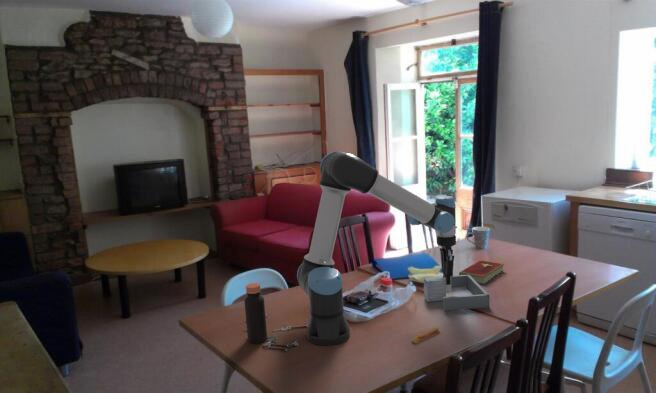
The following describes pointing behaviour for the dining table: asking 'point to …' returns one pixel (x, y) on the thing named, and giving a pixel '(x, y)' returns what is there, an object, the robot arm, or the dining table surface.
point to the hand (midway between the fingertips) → (447, 291)
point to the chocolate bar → (425, 335)
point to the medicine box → (434, 289)
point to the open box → (467, 301)
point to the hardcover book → (483, 271)
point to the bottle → (255, 314)
